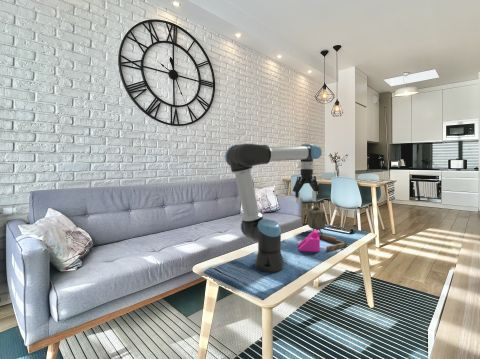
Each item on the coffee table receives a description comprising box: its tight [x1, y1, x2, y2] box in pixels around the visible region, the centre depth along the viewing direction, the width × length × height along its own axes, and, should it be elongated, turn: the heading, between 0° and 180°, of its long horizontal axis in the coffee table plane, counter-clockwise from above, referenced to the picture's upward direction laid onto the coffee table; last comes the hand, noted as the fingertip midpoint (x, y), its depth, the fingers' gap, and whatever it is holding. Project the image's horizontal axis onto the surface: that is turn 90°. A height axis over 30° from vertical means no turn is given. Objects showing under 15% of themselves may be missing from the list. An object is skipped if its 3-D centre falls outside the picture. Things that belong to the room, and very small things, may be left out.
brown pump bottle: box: [307, 199, 326, 235], centre depth 186 cm, size 14×9×25 cm, turn 179°
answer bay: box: [303, 233, 348, 252], centre depth 162 cm, size 16×22×3 cm
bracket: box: [298, 229, 321, 253], centre depth 155 cm, size 12×10×10 cm
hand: (306, 201), depth 159 cm, fingers open, 13 cm apart
